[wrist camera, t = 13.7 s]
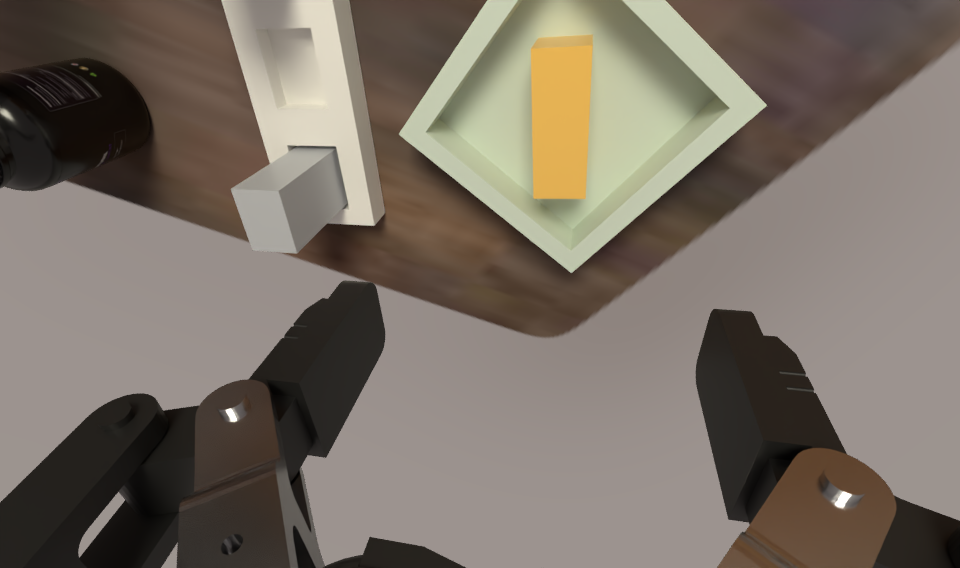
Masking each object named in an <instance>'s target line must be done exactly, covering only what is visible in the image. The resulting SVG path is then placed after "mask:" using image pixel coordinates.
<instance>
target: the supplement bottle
mask: <svg viewBox="0 0 960 568" xmlns="http://www.w3.org/2000/svg"><path fill="white" fill-rule="evenodd" d="M149 131H150V120H149V115H148V111H147V108H146V106H145V103H144V101H143V99H142V98H141V96H140V94H139V93H138V91H137V90H136V89H135V87H134V86H133V85H132V84H131V83H130V82H129V80H128V79H127V78H125V77H124V76H123V75H122V74H121V73H120V72H118V71H117V70H115V69H114V68H112V67H111V66H109V65H107V64H105V63H102V62H100V61H97V60H93V59H88V58H78V59H71V60H65V61H59V62H54V63H49V64H43V65H38V66H33V67H27V68H22V69H17V70H11V71H6V72H1V73H0V188H2V187H4V186H5V187H7V188H11V189H15V190H22V191H37V190H42V189H45V188H47V187H50V186H53V185H55V184H57V183H60V182H62V181H65V180H67V179H70V178H72V177H74V176H77V175H79V174H82V173H84V172H86V171H89V170H91V169H94V168H96V167H98V166H101V165H103V164H106V163H108V162H110V161H113V160H115V159H118V158H120V157H122V156H125V155H127V154H129V153H131V152H134V151H136V150H137V149H139V148H140V147H142V146H143V145H144V143H145V142H146V141H147V138H148V136H149Z"/></svg>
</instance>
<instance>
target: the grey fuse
mask: <svg viewBox="0 0 960 568" xmlns="http://www.w3.org/2000/svg"><path fill="white" fill-rule="evenodd" d="M231 191H232V194H233V197H234V200H235V202H236V205H237V208H238V211H239V214H240V217H241V219H242V222H243V225H244V228H245V231H246V233H247V236H248V239H249V242H250V245H251V247H252V250H254V251H270V252H284V253H298V252H299V251H300V250H301V249H302V248H303V247H304V246H305V245H306V244H307V243H308V242H309V241H310V240H311V239H312V238H313V237H314V236H315V235H316V234H317V233H318V232H319V231H320V230H321V229H322V228H323V227H324V226H325V225H326V224H327V223H328V222H329V221H330V220H331V219H332V218H333V217H334V216H335V215H336V214H337V213H338V212H339V211H340V210H341V209H342V208H343V207H344V206H345V205H346V204H347V203H348V200H347V196H346V191H345V186H344V182H343V177H342V172H341V168H340V163H339V158H338V154H337V149H336V146H297V147H296V148H294V149H293V150H291V151H289V152H288V153H286V154H285V155H283V156H282V157H280V158H279V159H277V160H275V161H274V162H272V163H271V164H269V165H268V166H266V167H264V168H263V169H261V170H260V171H258V172H257V173H255V174H254V175H252V176H250V177H249V178H247V179H246V180H244V181H243V182H241V183H240V184H238V185H236V186H235V187H233V188H232V189H231Z"/></svg>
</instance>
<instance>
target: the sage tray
mask: <svg viewBox="0 0 960 568" xmlns="http://www.w3.org/2000/svg"><path fill="white" fill-rule="evenodd" d="M591 34H593V51H592V72H591V94H590V115H589V136H588V158H587V179H586V199H533V148H532V92H531V48H532V46H533V45H534V43H535V42H536V40H537V39H538V38H542V37H558V36H575V35H591ZM766 106H767V105H766V104H765V103H764V102H763V101H762V100H761V99H760V98H759V97H758V96H757V95H756V94H755V93H754V92H753V91H752V90H751V88H750V87H749V86H748V85H747V84H746V83H745V82H744V81H743V80H742V79H741V78H740V77H739V76H738V75H737V74H736V73H735V72H734V71H733V70H732V69H731V68H730V67H729V66H728V65H727V64H726V63H725V62H724V61H723V60H722V59H721V58H720V57H719V56H718V54H717V53H716V52H715V51H714V50H713V49H712V48H711V47H710V46H709V45H708V44H707V43H706V42H705V41H704V40H703V39H702V38H701V37H700V36H699V35H698V34H697V33H696V32H695V31H694V30H693V29H692V28H691V27H690V26H689V25H688V24H687V23H686V21H685V20H684V19H683V18H682V17H681V16H680V15H679V14H678V13H677V12H676V11H675V10H674V9H673V8H672V7H671V6H670V5H669V4H668V3H667V2H666V1H665V0H487V2H486V3H485V5H484V6H483V8H482V9H481V11H480V12H479V14H478V15H477V17H476V18H475V20H474V21H473V23H472V25H471V26H470V28H469V29H468V31H467V32H466V34H465V35H464V37H463V38H462V40H461V41H460V43H459V44H458V46H457V47H456V49H455V50H454V52H453V53H452V55H451V56H450V58H449V59H448V61H447V62H446V64H445V65H444V67H443V68H442V70H441V71H440V73H439V74H438V76H437V77H436V79H435V80H434V82H433V83H432V85H431V86H430V88H429V89H428V91H427V92H426V94H425V95H424V97H423V98H422V100H421V101H420V103H419V104H418V106H417V107H416V109H415V111H414V112H413V114H412V115H411V117H410V118H409V120H408V121H407V123H406V124H405V126H404V127H403V129H402V130H401V132H400V133H399V135H400V136H401V137H403V138H404V139H405V140H406V141H408V142H409V143H410V144H411V145H413V146H414V147H415V148H416V149H418V150H419V151H420V152H421V153H423V154H424V155H425V156H426V157H427V158H429V159H430V160H431V161H432V162H434V163H435V164H436V165H437V166H439V167H440V168H441V169H442V170H444V171H445V172H446V173H447V174H449V175H450V176H451V177H452V178H454V179H455V180H456V181H457V182H459V183H460V184H461V185H462V186H464V187H465V188H466V189H467V190H469V191H470V192H471V193H472V194H474V195H475V196H476V197H477V198H478V199H480V200H481V201H482V202H483V203H485V204H486V205H487V206H488V207H490V208H491V209H492V210H493V211H495V212H496V213H497V214H498V215H500V216H501V217H502V218H503V219H505V220H506V221H507V222H508V223H510V224H511V225H512V226H513V227H515V228H516V229H517V230H518V231H520V232H521V233H522V234H523V235H525V236H526V237H527V238H528V239H529V240H531V241H532V242H533V243H534V244H536V245H537V246H538V247H539V248H541V249H542V250H543V251H544V252H546V253H547V254H548V255H549V256H551V257H552V258H553V259H554V260H556V261H557V262H558V263H559V264H561V265H562V266H563V267H564V268H566V269H567V270H568V271H569V272H571V273H572V272H573V271H575V270H576V269H577V268H578V267H579V266H580V265H582V264H583V263H584V262H585V261H586V260H587V259H589V258H590V257H591V256H592V255H593V254H594V253H596V252H597V251H598V250H599V249H600V248H601V247H603V246H604V245H605V244H606V243H607V242H608V241H610V240H611V239H612V238H613V237H614V236H615V235H617V234H618V233H619V232H620V231H621V230H622V229H623V228H625V227H626V226H627V225H628V224H629V223H630V222H632V221H633V220H634V219H635V218H636V217H637V216H639V215H640V214H641V213H642V212H643V211H644V210H646V209H647V208H648V207H649V206H650V205H651V204H653V203H654V202H655V201H656V200H657V199H658V198H660V197H661V196H662V195H663V194H664V193H665V192H667V191H668V190H669V189H670V188H671V187H672V186H674V185H675V184H676V183H677V182H678V181H679V180H681V179H682V178H683V177H684V176H685V175H686V174H688V173H689V172H690V171H691V170H692V169H693V168H695V167H696V166H697V165H698V164H699V163H700V162H702V161H703V160H704V159H705V158H706V157H707V156H709V155H710V154H711V153H712V152H713V151H714V150H716V149H717V148H718V147H719V146H720V145H721V144H723V143H724V142H725V141H726V140H727V139H728V138H730V137H731V136H732V135H733V134H734V133H735V132H737V131H738V130H739V129H740V128H741V127H742V126H744V125H745V124H746V123H747V122H748V121H749V120H751V119H752V118H753V117H754V116H755V115H756V114H758V113H759V112H760V111H761V110H762V109H763V108H765V107H766Z"/></svg>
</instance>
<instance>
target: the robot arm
mask: <svg viewBox="0 0 960 568" xmlns="http://www.w3.org/2000/svg"><path fill="white" fill-rule="evenodd" d="M384 342H385V328H384V323H383V318H382V313H381V308H380V303H379V298H378V293H377V289H376V286H375V285H374V284H373V283H371V282H357V281H342V282H341V283H340V284H339V285H338V287H337V288H336V289H335V291H334V292H333V293H332V294H331V296H330V297H329V298H328V299H325V298H322V299H321V300H319V301H318V302H316V303H315V304H313V305H312V306H310V307H309V308H307V309H306V310H305V311H304V312H303V313H302V314H301V316H300V317H299V318H298V319H297V320H296V322H295V323H294V326H293V327H291V328H290V329H289V330H288V331H287V333H286V334H285V337H284V338H282V339H281V340H280V341H279V343H278V344H277V345H276V346H275V347H274V349H273V350H272V351H271V352H270V354H269V355H268V356H267V357H266V359H265V360H264V361H263V362H262V364H261V365H260V366H259V367H258V369H257V370H256V371H255V372H254V373H253V375H252V376H251V377H250V378H249V379H248V380H240V381H235V382H232V383H229V384H226V385H224V386H222V387H220V388H218V389H217V390H215V391H214V392H212V393H211V394H210V395H208V396H207V397H206V398H205V399H204V400H203V402H202V403H201V404H200V406H193V407H186V408H179V409H172V410H165V411H163V410H162V408H161V407H160V405H159V403H158V402H157V400H156V399H155V398H154V397H153V396H151V395H148V394H131V395H126V396H123V397H120V398H117V399H115V400H112V401H110V402H108V403H107V404H105V405H103V406H101V407H100V408H98V409H97V410H96V411H94V412H93V413H92V414H91V415H89V416H88V417H87V418H86V419H85V420H84V421H83V422H82V423H81V424H80V425H79V426H78V427H77V428H76V429H75V430H74V431H73V432H72V433H71V434H70V435H69V436H68V437H67V438H66V439H65V440H64V441H63V442H62V443H61V444H59V445H58V447H56V448H55V449H54V450H53V451H52V452H51V453H50V454H49V455H48V457H46V458H45V459H44V460H43V461H42V462H41V463H40V464H39V465H38V466H37V467H36V468H35V469H34V470H33V471H32V472H31V473H30V474H29V475H28V476H27V477H26V478H25V479H24V480H23V481H22V482H21V483H20V484H19V485H18V486H17V487H16V488H15V489H14V490H13V491H12V492H11V493H10V494H8V496H7V497H6V498H4V499H3V500H2V501H1V502H0V568H161V567H162V565H163V564H164V562H165V561H166V559H167V557H168V556H169V555H170V553H171V551H172V550H173V548H174V547H175V545H176V544H177V542H178V550H177V568H465V567H463V566H461V565H459V564H457V563H455V562H453V561H451V560H449V559H447V558H445V557H443V556H441V555H439V554H437V553H435V552H433V551H431V550H429V549H427V548H425V547H422V546H417V545H412V544H406V543H400V542H395V541H389V540H384V539H377V538H372V537H370V538H369V540H368V543H367V546H366V548H365V551H364V553H363V555H359V556H354V557H350V558H346V559H342V560H340V561H337V562H334V563H331V564H329V565H327V566H325V565H324V562H323V559H322V556H321V553H320V549H319V546H318V542H317V537H316V533H315V528H314V523H313V518H312V513H311V508H310V503H309V498H308V494H307V489H306V484H305V479H304V474H303V471H302V468H301V466H302V464H303V462H304V460H305V458H306V457H307V455H312V456H319V457H325V458H326V457H327V455H328V453H329V451H330V449H331V448H332V446H333V444H334V442H335V440H336V438H337V436H338V434H339V432H340V431H341V429H342V427H343V425H344V423H345V421H346V419H347V417H348V416H349V413H350V412H351V410H352V408H353V406H354V404H355V402H356V400H357V399H358V397H359V395H360V393H361V391H362V389H363V387H364V385H365V383H366V382H367V380H368V378H369V376H370V374H371V372H372V370H373V368H374V367H375V365H376V363H377V361H378V359H379V357H380V355H381V353H382V351H383V348H384ZM805 374H806V373H805V371H804V369H803V367H802V365H801V363H800V361H799V359H798V357H797V355H796V354H795V353H794V352H793V351H792V350H791V349H790V348H789V347H788V346H787V345H786V344H784V343H783V342H782V341H781V340H780V339H779V338H778V337H775V336H763V334H762V332H761V329H760V327H759V325H758V323H757V320H756V318H755V316H754V314H753V313H752V312H748V311H736V310H722V309H713V311H712V312H711V314H710V317H709V320H708V324H707V328H706V331H705V335H704V338H703V341H702V345H701V348H700V352H699V356H698V359H697V365H696V385H697V389H698V394H699V398H700V402H701V407H702V411H703V415H704V419H705V423H706V427H707V432H708V436H709V440H710V444H711V448H712V453H713V457H714V461H715V465H716V469H717V474H718V478H719V482H720V486H721V490H722V495H723V499H724V503H725V507H726V511H727V515H728V519H729V520H736V521H743V522H749V524H750V526H749V527H748V528H747V530H746V531H745V532H742V533H741V534H740V535H739V536H738V538H737V539H736V540H735V542H734V543H733V545H732V546H731V548H730V549H729V551H728V552H727V554H726V555H725V557H724V558H723V560H722V561H721V562H720V564H719V565H718V567H717V568H960V521H959V520H956V519H953V518H951V517H948V516H945V515H942V514H940V513H937V512H934V511H932V510H929V509H926V508H923V507H920V506H918V505H915V504H912V503H910V502H907V501H905V500H902V499H900V498H898V497H896V496H894V495H893V493H892V491H891V490H890V488H889V486H888V485H887V484H886V482H885V481H884V480H883V479H882V478H881V477H880V476H879V475H878V474H877V473H876V472H875V471H874V470H872V469H871V468H870V467H868V466H867V465H866V464H864V463H862V462H861V461H859V460H858V459H856V458H853V457H851V456H849V455H847V454H846V451H845V450H844V447H843V446H842V444H841V442H840V440H839V438H838V436H837V434H836V432H835V430H834V428H833V426H832V424H831V422H830V420H829V418H828V416H827V414H826V412H825V410H824V408H823V406H822V404H821V402H820V400H819V398H818V396H817V394H816V393H814V392H813V391H814V388H813V386H812V384H811V382H810V380H809V379H808V377H806V376H805ZM118 491H119V493H120V494H121V495H122V496H123V497H124V499H125V501H124V503H123V504H122V505H121V506H120V508H119V509H118V510H117V511H116V513H115V514H114V515H113V516H112V518H111V519H110V520H109V522H108V523H107V524H106V525H105V526H104V528H103V529H102V530H101V531H100V533H99V534H98V535H97V536H96V538H95V539H94V540H93V542H92V543H91V544H90V545H89V547H88V548H87V549H86V550H85V552H84V553H83V554H82V556H81V557H80V558H79V556H78V549H79V544H80V541H81V539H82V537H83V535H84V534H85V532H86V531H87V529H88V528H89V527H90V526H91V524H92V523H93V522H94V520H96V518H97V517H98V516H99V515H100V513H101V512H102V511H103V510H104V509H105V507H106V506H107V505H108V504H109V502H110V501H111V500H112V499H113V497H114V496H115V495H116V494H117V493H118Z"/></svg>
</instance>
